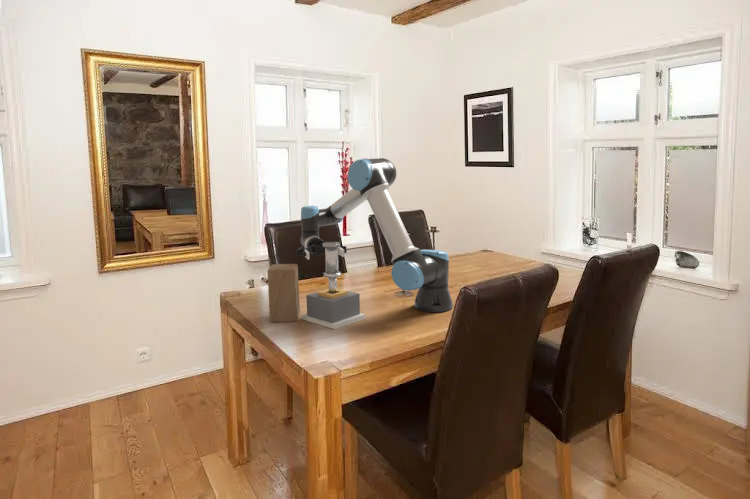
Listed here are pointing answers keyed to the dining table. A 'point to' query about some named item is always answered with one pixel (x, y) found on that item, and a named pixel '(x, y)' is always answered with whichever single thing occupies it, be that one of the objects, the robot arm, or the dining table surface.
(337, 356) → the dining table surface
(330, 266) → the steel pin
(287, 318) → the wooden block
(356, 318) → the pin housing
